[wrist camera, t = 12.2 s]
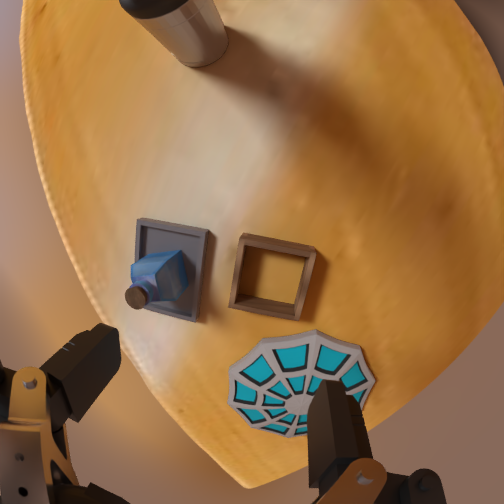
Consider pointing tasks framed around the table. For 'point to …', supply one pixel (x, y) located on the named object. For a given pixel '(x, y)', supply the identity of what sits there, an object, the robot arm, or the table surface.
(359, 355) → the decorative platform
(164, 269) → the perfume bottle
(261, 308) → the holder
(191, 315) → the tray
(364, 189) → the table surface
